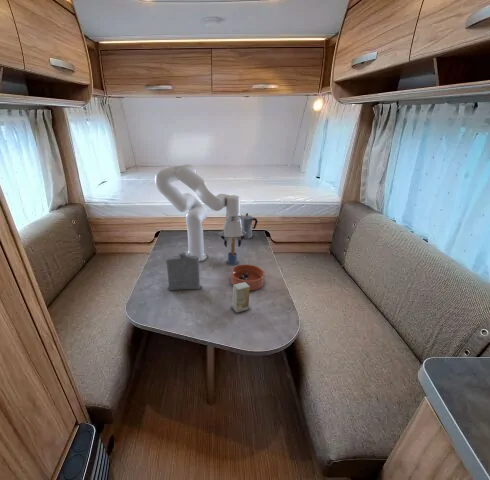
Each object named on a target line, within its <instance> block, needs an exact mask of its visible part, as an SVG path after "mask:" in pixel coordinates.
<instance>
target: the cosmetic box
mask: <svg viewBox="0 0 490 480" xmlns="http://www.w3.org/2000/svg"><path fill="white" fill-rule="evenodd" d="M232 286H233V287H232V305H231V306H232V307H231V308H232V309H233V311H235V312H236V313H240V312H245V311H247V310H249V306H250V305H249V304H250V291H251V290H250V286H249V285H248V284H247V283H246V282H243V283H239V284H235V285H232Z"/></svg>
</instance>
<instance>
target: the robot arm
mask: <svg viewBox="0 0 490 480" xmlns="http://www.w3.org/2000/svg"><path fill="white" fill-rule="evenodd" d="M176 181H180V182H181V183H182V184H183V185H185V186H186V187H188V188H189V189H190V190H192V191H193V192H194V193H195V194H196V195H197V197H198V198H199V199H198V198H197V197H196V196H195V195H193V194H192V193H189V192H184V193H182V192H181V191H180V190H179V189H178V188H177V187H176V186H174V185H173V184H172V183H173V182H176ZM154 184H155V187H156V189H157V190H158V192H160V194H161V195H162V196H164V198H166V199H167V201H169V203H170V204H171V205H172V206H173V207H174V208H175V209H176V210H177V211H178V212H180V213H185V212H187V211H188V212H187V213H186V215H185V223H186V231H187V244H188V245H187V247H188V248H187V250H186V251H184V250H183V251H184V252H186V255H188V256H198V257H199V262H202V261H205V260H206V259H207V253H205V247H204V243H205V242H204V228H203V223H202V222H204V221H205V220H206V219H207V217H208V215H209V213H208V210H207V208H209V209H210V210H213V211H216V212H219V211H221V210H222V209H223V208H225V209H226V210H225V211H226V214H225V219H224V222H223V229H222V230H221V231H220V232H218V236H219V237H220V239H222V240H223V246H224V247H225V248H227V247H228V240H227V239H228V238H231V237H235V238H238V239H237V246H238V247H239V248H240V247H241V246H242V241H243V239H245V238H244V237H245V236H246V235H247V234H246V232H244V231H243V230H242V225H241V219H240V218H242V216H243V215H242V214H241V197H240V196H239V195H236V194H231V195H230V194H226V193H217V195H215V194H213V193H212V192H211V191H210V190H209V189H208V187H207V184H206V180H205V179H204V178H203V177H201V176H200V175H199V174H197V170H196V168H195V166H193V165H192V164H188V163H187V164H182V165H175V166H170V167H167V168H163V169H161V170H159V171H157V173H156V174H155V177H154ZM201 202H202V203H201ZM204 205H206V206H207V208H206V206H204ZM242 233H243V235H242ZM241 235H242V236H241ZM240 236H241V237H240Z"/></svg>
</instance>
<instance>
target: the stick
mask: <svg viewBox="0 0 490 480" xmlns="http://www.w3.org/2000/svg"><path fill="white" fill-rule="evenodd" d="M235 242H236V237H230V252H231V256H234V252H235V250H236V249H235V248H236V247H235V246H236V245H235V244H236V243H235ZM235 253H236V252H235Z"/></svg>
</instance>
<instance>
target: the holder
mask: <svg viewBox="0 0 490 480" xmlns="http://www.w3.org/2000/svg"><path fill="white" fill-rule="evenodd" d="M237 260H238V254H237V253H236V252H234V256H231V251H230V252H228V253H227V263H228V264H229V265H236V264H237V263H238V261H237Z"/></svg>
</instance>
